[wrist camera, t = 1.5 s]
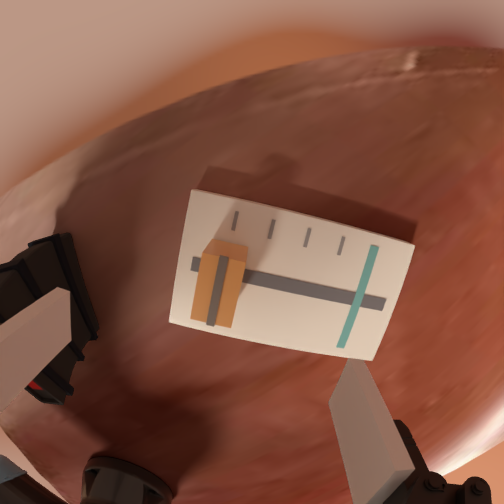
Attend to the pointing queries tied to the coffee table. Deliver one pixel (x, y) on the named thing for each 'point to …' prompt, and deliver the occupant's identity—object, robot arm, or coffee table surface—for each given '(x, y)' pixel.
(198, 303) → the fader tab
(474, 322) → the coffee table surface
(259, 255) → the fader console
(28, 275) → the magazine
